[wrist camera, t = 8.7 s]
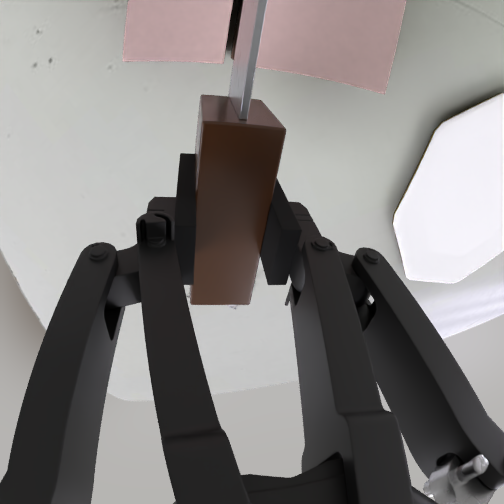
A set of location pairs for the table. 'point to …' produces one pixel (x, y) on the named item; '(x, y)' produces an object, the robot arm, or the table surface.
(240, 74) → the cake knife
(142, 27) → the cake slice
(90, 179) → the table surface
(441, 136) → the plate
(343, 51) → the cake
